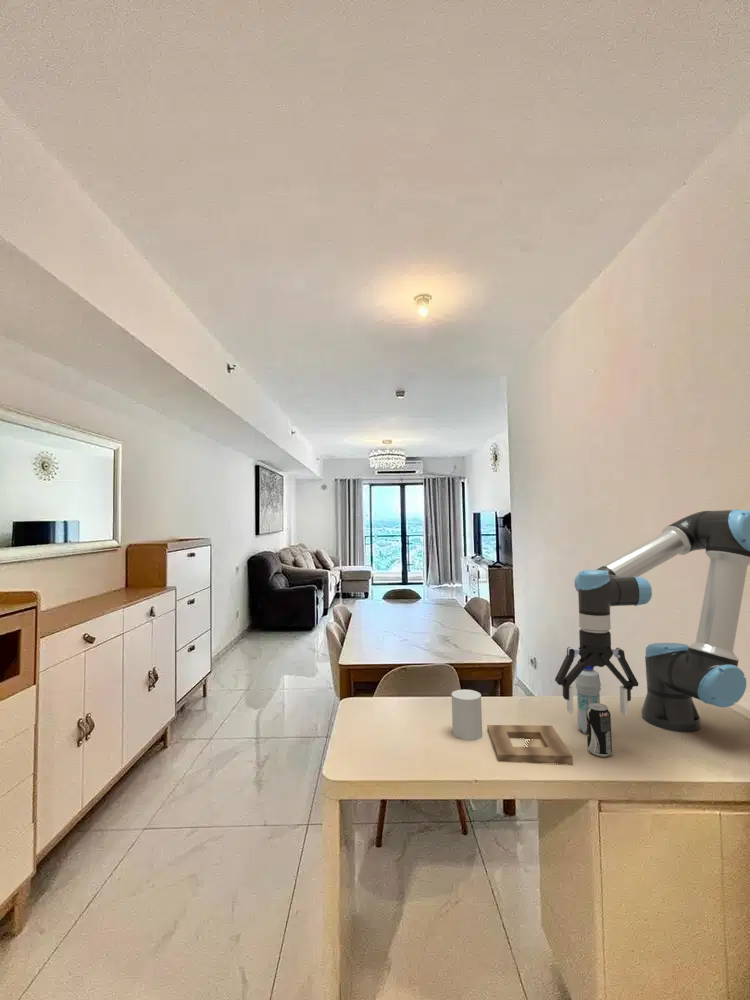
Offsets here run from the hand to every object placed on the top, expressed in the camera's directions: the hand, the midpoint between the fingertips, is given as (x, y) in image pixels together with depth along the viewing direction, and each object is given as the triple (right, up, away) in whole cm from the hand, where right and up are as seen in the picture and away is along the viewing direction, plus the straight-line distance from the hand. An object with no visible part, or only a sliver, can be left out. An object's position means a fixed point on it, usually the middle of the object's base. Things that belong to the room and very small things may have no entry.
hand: (596, 712), depth 127 cm
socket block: (-17, -11, +3) cm, 21 cm away
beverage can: (+1, -10, 0) cm, 11 cm away
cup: (-32, -12, +10) cm, 35 cm away
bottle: (+4, -11, +12) cm, 17 cm away
